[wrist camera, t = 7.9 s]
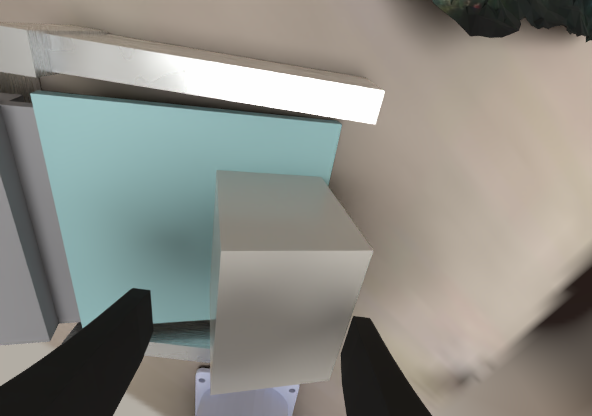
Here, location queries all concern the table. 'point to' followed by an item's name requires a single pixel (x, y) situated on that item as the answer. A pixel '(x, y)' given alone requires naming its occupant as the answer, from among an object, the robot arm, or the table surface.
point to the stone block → (280, 280)
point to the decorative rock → (518, 15)
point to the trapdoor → (125, 201)
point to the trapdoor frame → (184, 79)
